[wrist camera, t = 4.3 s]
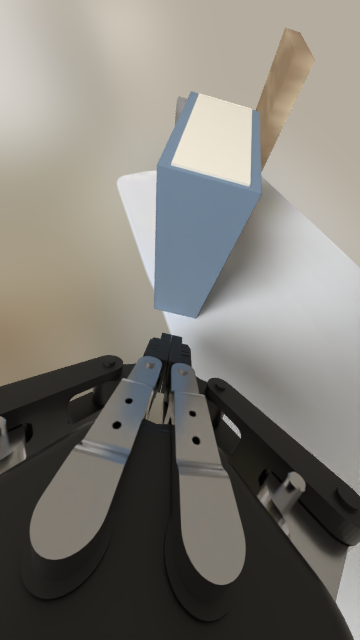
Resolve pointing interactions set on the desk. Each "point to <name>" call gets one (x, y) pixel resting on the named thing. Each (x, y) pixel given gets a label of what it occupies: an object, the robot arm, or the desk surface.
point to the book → (203, 198)
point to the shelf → (278, 89)
